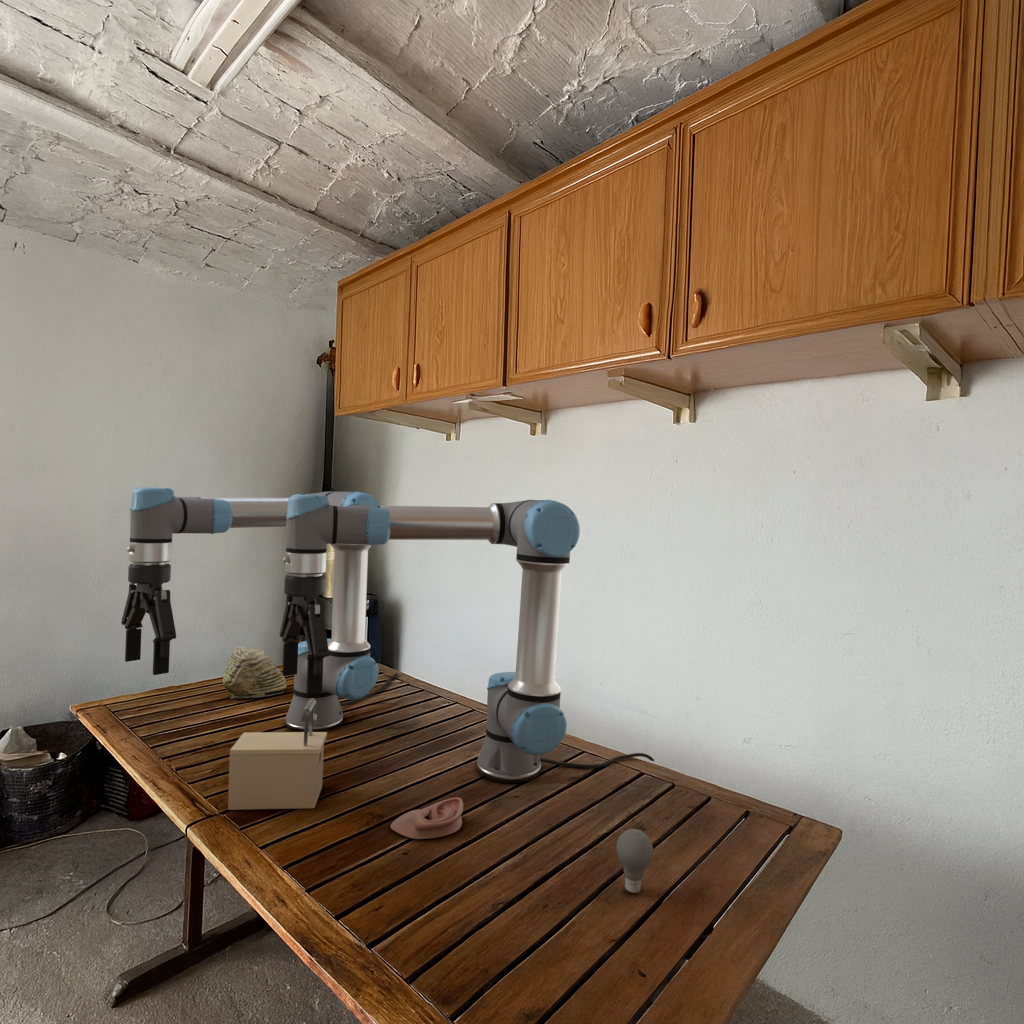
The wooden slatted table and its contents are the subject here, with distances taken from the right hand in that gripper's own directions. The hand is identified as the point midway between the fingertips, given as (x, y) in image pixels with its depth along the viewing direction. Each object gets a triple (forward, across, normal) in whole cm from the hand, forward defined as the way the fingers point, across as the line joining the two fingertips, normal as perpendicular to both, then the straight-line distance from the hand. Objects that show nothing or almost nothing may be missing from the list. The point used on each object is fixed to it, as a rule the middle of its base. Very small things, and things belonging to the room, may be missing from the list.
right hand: (301, 683), depth 123 cm
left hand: (0, -26, -23) cm, 34 cm away
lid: (+16, -12, 0) cm, 20 cm away
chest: (+27, -12, 0) cm, 30 cm away
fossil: (+27, -83, +15) cm, 88 cm away
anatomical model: (+27, +15, +20) cm, 37 cm away
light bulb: (+27, +52, +38) cm, 70 cm away
